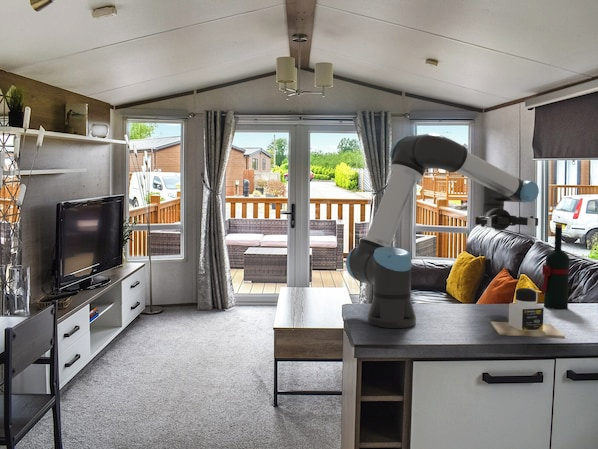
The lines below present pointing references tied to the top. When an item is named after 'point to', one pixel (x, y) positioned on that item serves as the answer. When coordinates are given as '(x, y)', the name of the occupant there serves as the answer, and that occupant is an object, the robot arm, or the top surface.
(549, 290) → the wine bottle
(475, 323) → the top surface
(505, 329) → the cork mat
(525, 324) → the medicine bottle
